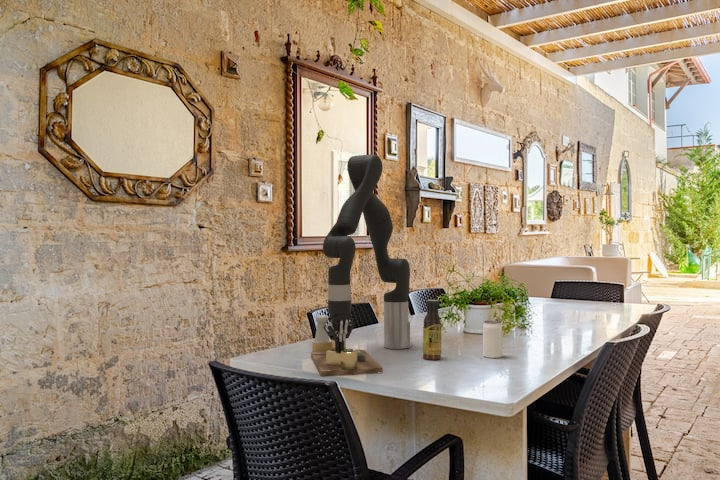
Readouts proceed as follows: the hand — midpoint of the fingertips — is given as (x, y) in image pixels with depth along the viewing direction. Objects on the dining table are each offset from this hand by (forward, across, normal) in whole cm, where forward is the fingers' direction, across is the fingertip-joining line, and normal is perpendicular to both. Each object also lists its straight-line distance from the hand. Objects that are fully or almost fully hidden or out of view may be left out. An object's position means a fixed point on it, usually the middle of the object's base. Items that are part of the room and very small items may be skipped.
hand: (339, 352), depth 188 cm
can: (+5, +44, -31) cm, 54 cm away
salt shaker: (+5, +17, +23) cm, 29 cm away
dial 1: (+3, +8, +12) cm, 15 cm away
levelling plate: (+5, +5, +2) cm, 7 cm away
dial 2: (+3, -4, -4) cm, 6 cm away
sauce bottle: (+5, +29, -16) cm, 34 cm away
